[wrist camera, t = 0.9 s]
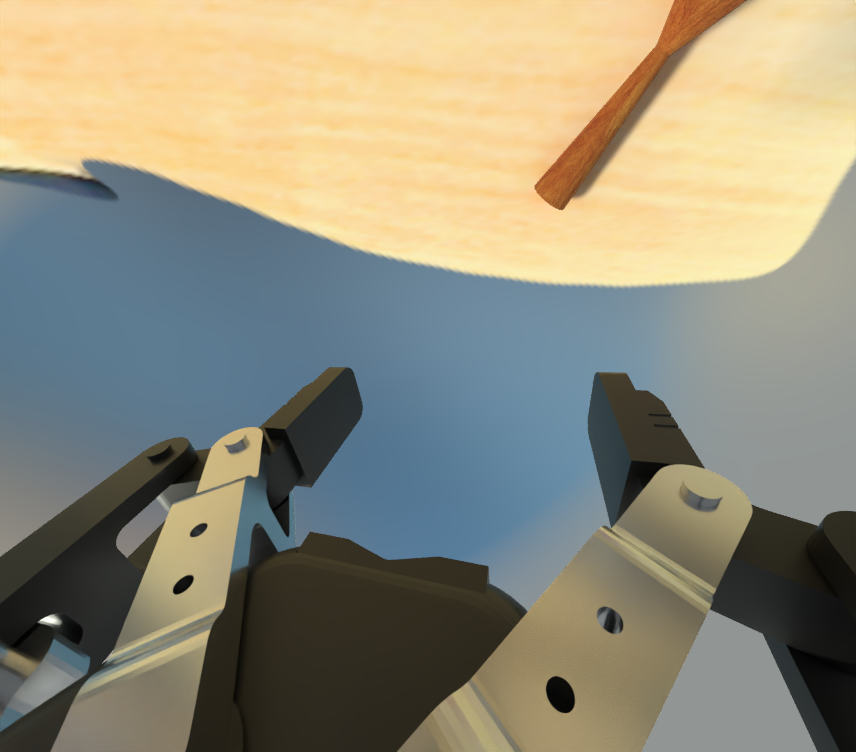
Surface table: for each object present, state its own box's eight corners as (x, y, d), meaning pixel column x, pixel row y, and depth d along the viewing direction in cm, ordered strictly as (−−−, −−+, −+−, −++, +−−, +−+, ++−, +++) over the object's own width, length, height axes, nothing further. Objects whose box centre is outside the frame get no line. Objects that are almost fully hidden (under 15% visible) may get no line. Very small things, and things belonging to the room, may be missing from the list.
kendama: (516, 184, 26) (884, -364, 11) (528, 169, 30) (809, -249, 15) (573, 228, 26) (994, -237, 12) (577, 208, 30) (895, -159, 16)
